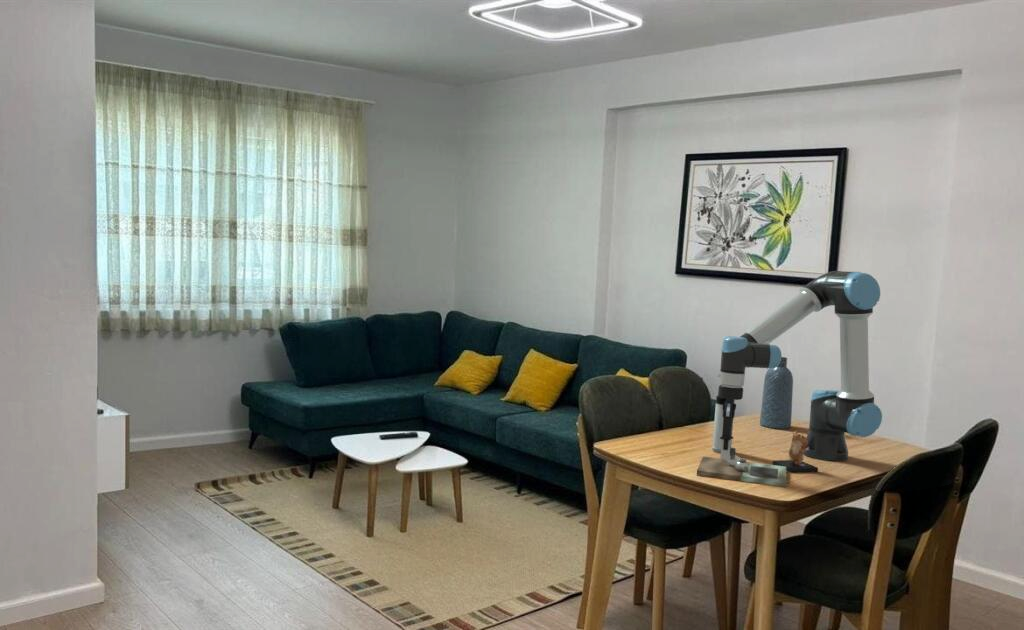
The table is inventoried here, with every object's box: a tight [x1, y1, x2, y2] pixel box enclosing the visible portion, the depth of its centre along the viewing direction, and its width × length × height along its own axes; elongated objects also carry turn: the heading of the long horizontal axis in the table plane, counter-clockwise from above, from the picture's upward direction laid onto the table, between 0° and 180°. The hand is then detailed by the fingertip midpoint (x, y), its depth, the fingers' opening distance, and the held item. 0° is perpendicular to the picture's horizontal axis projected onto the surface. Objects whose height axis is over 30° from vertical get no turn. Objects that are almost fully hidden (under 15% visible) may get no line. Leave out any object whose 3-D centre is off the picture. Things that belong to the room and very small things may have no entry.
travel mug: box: [711, 395, 735, 454], centre depth 292 cm, size 6×7×20 cm
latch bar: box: [726, 446, 750, 471], centre depth 265 cm, size 13×4×4 cm, turn 6°
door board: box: [696, 456, 787, 488], centre depth 264 cm, size 26×20×4 cm
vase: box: [759, 356, 794, 430], centre depth 343 cm, size 12×12×28 cm
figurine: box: [771, 430, 819, 474], centre depth 273 cm, size 10×10×12 cm
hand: (724, 459), depth 268 cm, fingers closed
